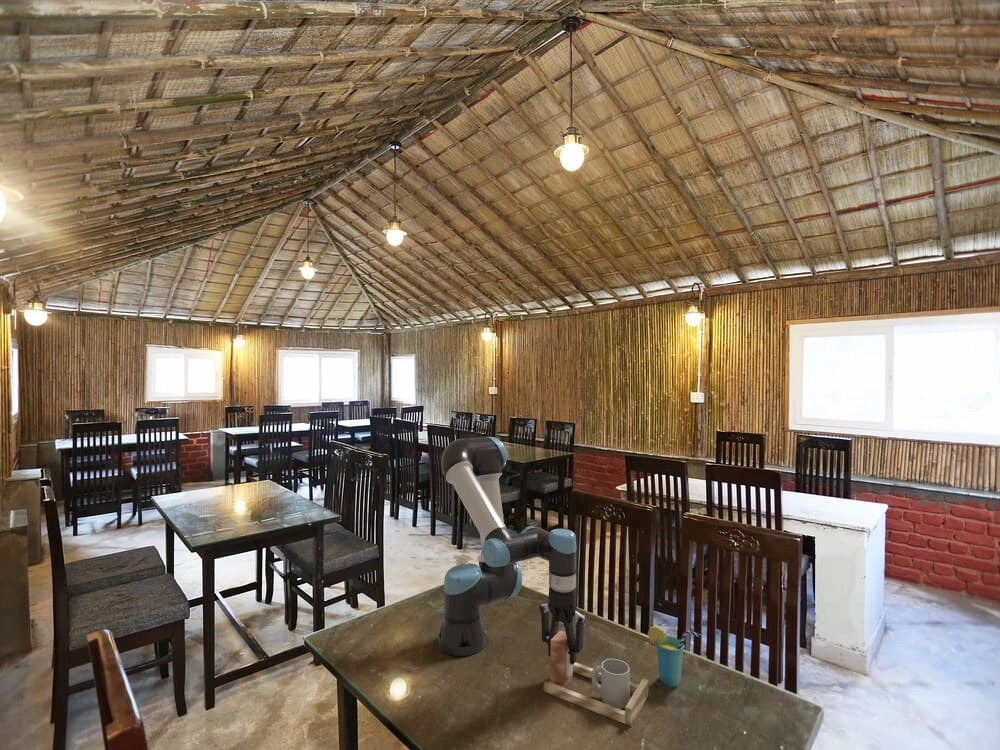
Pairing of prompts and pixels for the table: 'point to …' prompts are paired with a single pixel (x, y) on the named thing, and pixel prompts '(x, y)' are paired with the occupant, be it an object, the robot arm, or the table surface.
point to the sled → (561, 680)
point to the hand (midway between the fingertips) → (561, 671)
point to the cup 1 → (613, 682)
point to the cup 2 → (669, 655)
